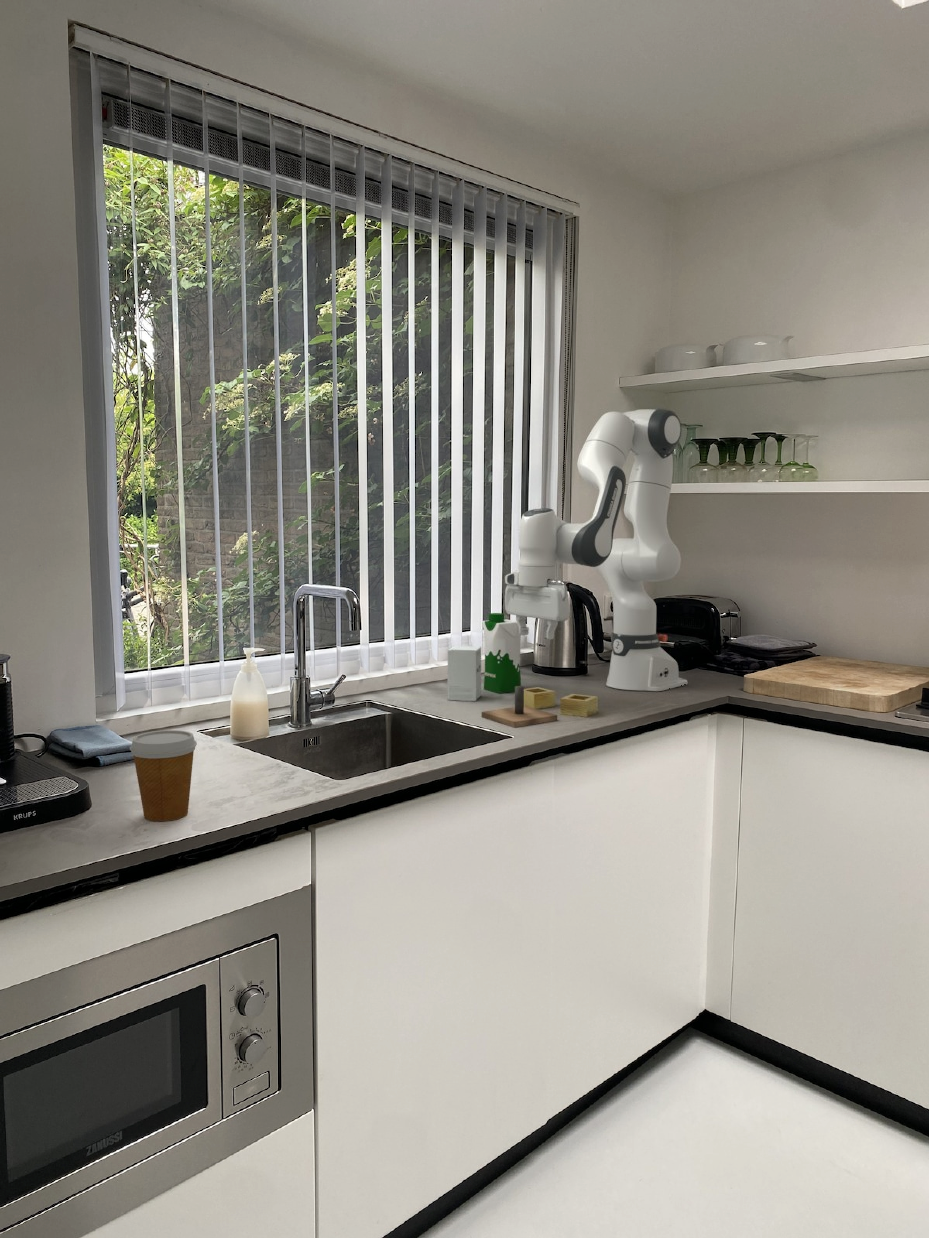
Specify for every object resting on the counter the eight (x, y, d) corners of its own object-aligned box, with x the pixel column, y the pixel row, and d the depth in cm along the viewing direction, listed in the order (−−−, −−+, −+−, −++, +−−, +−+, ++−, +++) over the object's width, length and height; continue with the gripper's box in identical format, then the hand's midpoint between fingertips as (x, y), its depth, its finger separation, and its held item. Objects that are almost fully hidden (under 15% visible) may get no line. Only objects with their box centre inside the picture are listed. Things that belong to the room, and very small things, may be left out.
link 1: (538, 701, 220) (538, 687, 220) (555, 706, 215) (555, 691, 214) (517, 704, 216) (517, 689, 216) (533, 709, 211) (534, 694, 211)
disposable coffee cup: (158, 802, 142) (155, 727, 141) (211, 808, 140) (209, 731, 138) (118, 821, 133) (115, 742, 132) (174, 828, 130) (171, 746, 129)
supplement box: (476, 701, 220) (476, 650, 219) (446, 700, 222) (446, 649, 220) (481, 695, 227) (482, 645, 226) (453, 694, 229) (453, 645, 227)
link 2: (572, 708, 212) (572, 693, 211) (597, 711, 208) (597, 696, 208) (560, 714, 206) (560, 698, 206) (586, 717, 203) (586, 701, 203)
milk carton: (478, 689, 236) (478, 612, 234) (506, 685, 241) (506, 610, 239) (498, 694, 229) (499, 616, 226) (526, 690, 234) (527, 613, 231)
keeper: (523, 710, 210) (524, 680, 209) (557, 720, 200) (557, 688, 199) (481, 717, 203) (481, 685, 202) (514, 727, 193) (514, 694, 192)
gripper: (576, 580, 205) (575, 640, 207) (521, 575, 222) (520, 631, 224) (555, 581, 202) (554, 642, 203) (500, 576, 219) (500, 633, 220)
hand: (536, 636), depth 214 cm, fingers open, 8 cm apart
